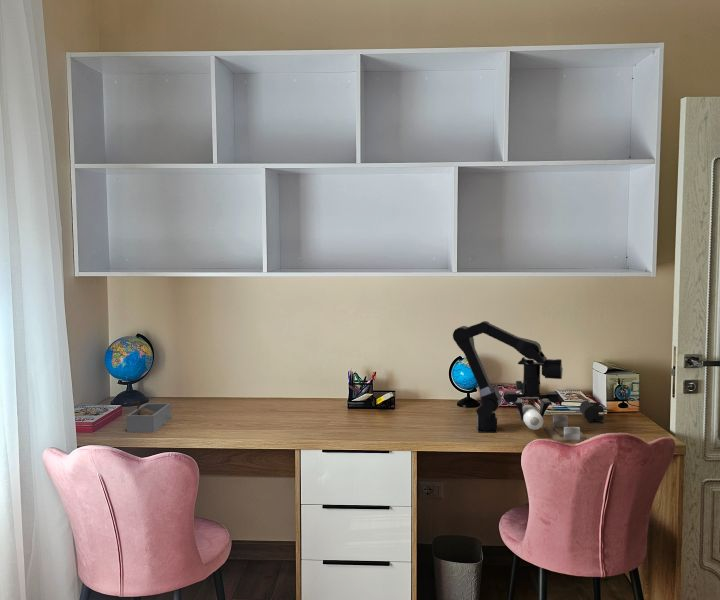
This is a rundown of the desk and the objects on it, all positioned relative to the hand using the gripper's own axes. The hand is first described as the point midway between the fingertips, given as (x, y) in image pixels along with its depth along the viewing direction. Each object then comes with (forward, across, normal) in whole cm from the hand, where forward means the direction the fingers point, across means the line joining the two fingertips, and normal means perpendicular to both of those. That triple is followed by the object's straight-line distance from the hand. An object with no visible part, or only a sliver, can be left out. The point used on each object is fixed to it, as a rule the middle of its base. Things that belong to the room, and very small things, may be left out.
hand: (531, 420), depth 249 cm
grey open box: (+5, +142, -9) cm, 142 cm away
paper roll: (+2, 0, 0) cm, 2 cm away
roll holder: (+5, -12, +1) cm, 13 cm away
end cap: (+5, -27, -21) cm, 35 cm away
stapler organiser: (+5, +140, -9) cm, 140 cm away
